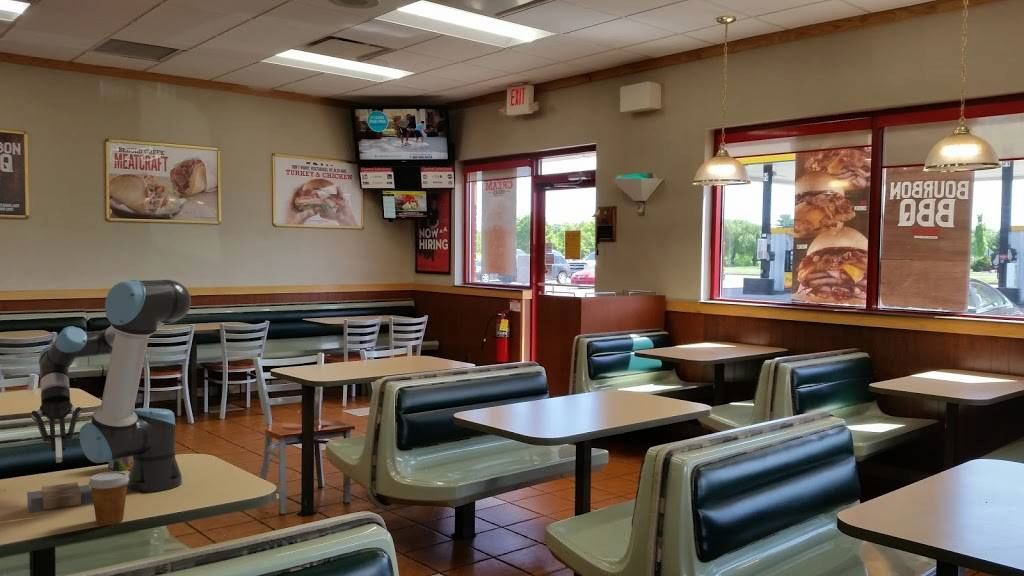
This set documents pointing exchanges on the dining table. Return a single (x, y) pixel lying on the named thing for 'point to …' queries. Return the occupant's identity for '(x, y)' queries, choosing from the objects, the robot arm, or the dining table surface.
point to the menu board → (61, 495)
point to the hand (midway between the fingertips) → (59, 459)
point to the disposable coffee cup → (109, 496)
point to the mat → (37, 506)
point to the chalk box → (121, 464)
